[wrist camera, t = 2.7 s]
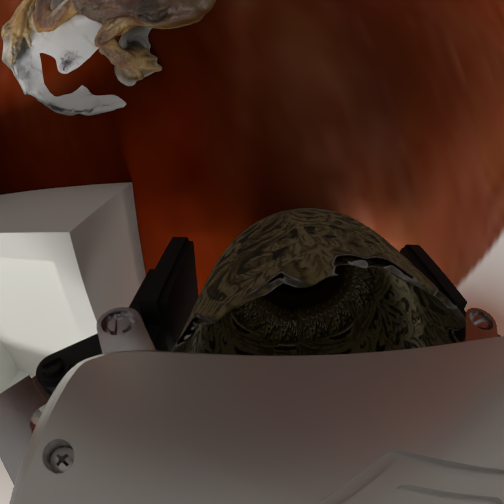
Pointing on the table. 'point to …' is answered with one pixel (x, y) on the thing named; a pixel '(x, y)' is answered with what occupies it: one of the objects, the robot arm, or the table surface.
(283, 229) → the embossed bronze vase
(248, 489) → the robot arm
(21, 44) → the frog figurine
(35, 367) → the bin
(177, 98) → the table surface
